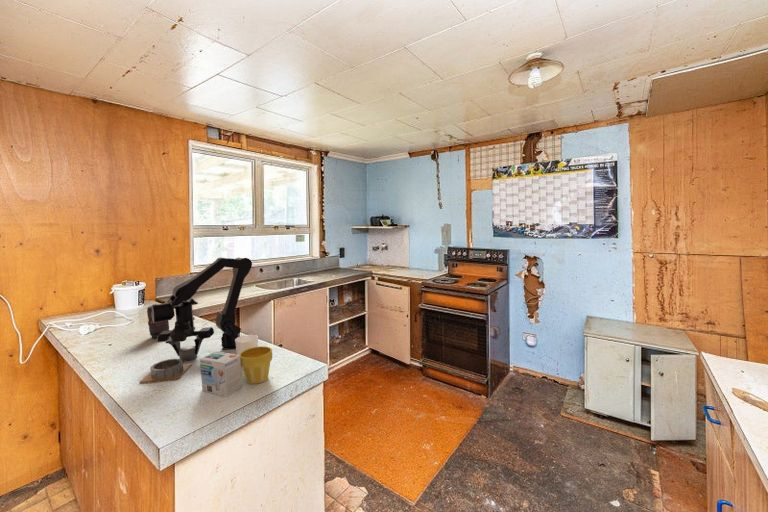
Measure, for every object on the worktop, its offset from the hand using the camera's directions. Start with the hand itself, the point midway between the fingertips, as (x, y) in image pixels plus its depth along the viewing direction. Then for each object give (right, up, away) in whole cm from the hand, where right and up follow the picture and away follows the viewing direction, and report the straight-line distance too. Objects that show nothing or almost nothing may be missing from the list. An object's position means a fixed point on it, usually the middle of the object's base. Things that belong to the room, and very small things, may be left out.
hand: (188, 355), depth 130 cm
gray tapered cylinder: (0, -1, 0) cm, 1 cm away
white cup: (+27, -2, -6) cm, 27 cm away
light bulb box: (+26, -4, -25) cm, 36 cm away
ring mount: (0, -3, -13) cm, 13 cm away
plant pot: (+35, -3, -19) cm, 40 cm away
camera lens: (-29, +1, +26) cm, 39 cm away
